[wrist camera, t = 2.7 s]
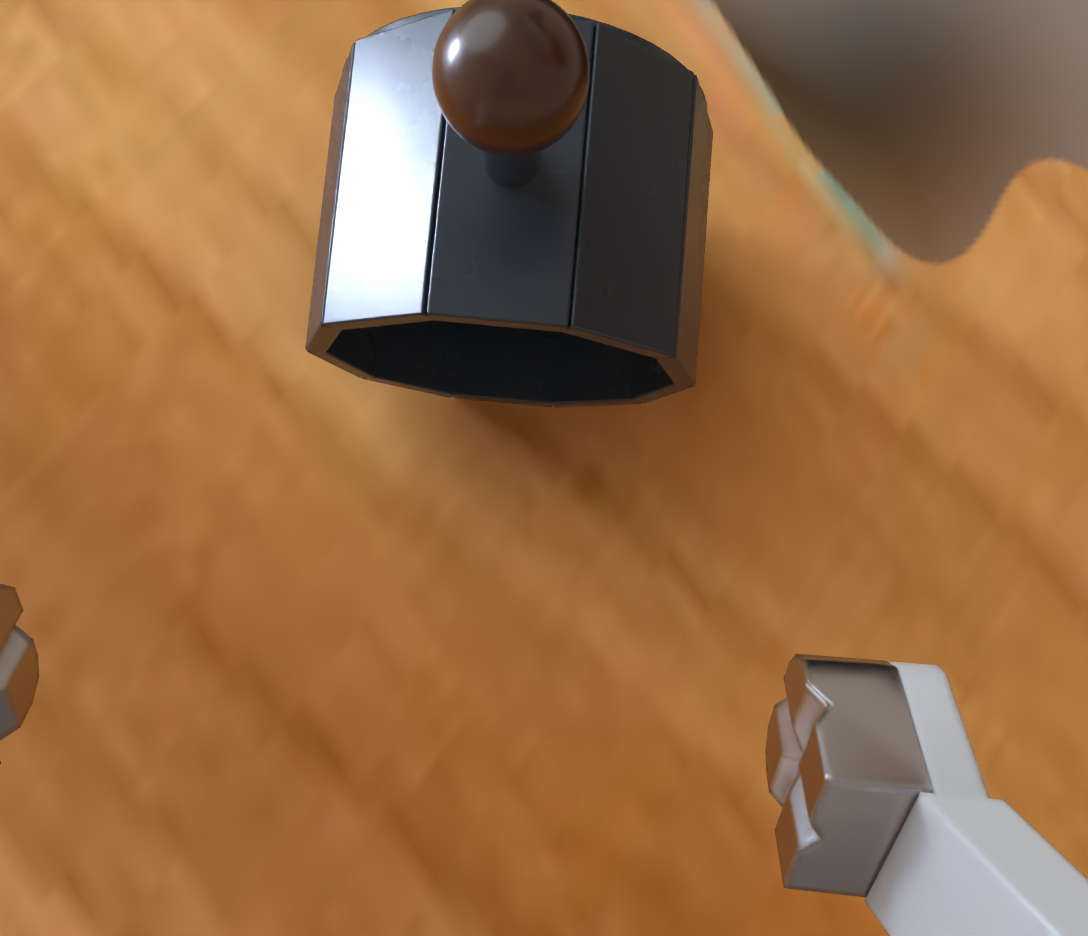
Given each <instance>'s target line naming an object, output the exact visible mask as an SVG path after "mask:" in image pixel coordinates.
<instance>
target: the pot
mask: <svg viewBox="0 0 1088 936" xmlns="http://www.w3.org/2000/svg"><path fill="white" fill-rule="evenodd" d="M712 139H713V130H712V127H711V123H710V120H709V116H708V113H707V102H706V99H705V96H704V93H703V90H702V89H701V87H700V85H699V82H698V79H697V76H696V75H694V73H693V72H692V71H690V70H688V69H687V68H686V67H685V66H684V65H682V64H681V63H680V62H679V61H678V60H676V59H675V58H674V57H673V56H671V55H670V54H669V53H667V52H665V51H664V50H662V49H661V48H659V47H657V46H656V45H654V44H653V43H651V42H649V41H647V40H645V39H642V38H640V37H638V36H636V35H634V34H632V33H630V32H627V31H625V30H622V29H619V28H617V27H614V26H611V25H609V24H606V23H602V22H599V21H595V20H592V19H588V18H585V17H581V16H576V15H571V14H567V13H566V12H565V11H564V10H563V9H562V8H561V7H560V6H558V5H557V4H556V3H554V2H553V1H552V0H469V1H467V2H466V3H465V4H463V5H462V6H461V7H457V8H447V9H440V10H435V11H430V12H424V13H420V14H416V15H413V16H409V17H406V18H403V19H399V20H397V21H395V22H392V23H390V24H388V25H385V26H383V27H381V28H379V29H378V30H376V31H374V32H373V33H371V34H369V35H368V36H366V37H365V38H362V39H358V40H356V42H355V43H353V45H352V47H351V50H350V53H349V56H348V57H347V59H346V62H345V65H344V68H343V72H342V77H341V80H340V83H339V86H338V89H337V92H336V94H335V99H334V108H333V117H332V125H331V134H330V142H329V151H328V159H327V168H326V176H325V185H324V193H323V202H322V211H321V219H320V228H319V236H318V245H317V253H316V262H315V270H314V279H313V287H312V296H311V305H310V313H309V322H308V330H307V339H306V347H305V348H306V350H307V352H309V353H311V354H313V355H315V356H317V357H319V358H321V359H323V360H325V361H327V362H329V363H331V364H333V365H335V366H337V367H339V368H341V369H343V370H345V371H347V372H349V373H351V374H353V375H355V376H357V377H359V378H362V379H366V380H370V381H375V382H380V383H384V384H389V385H394V386H398V387H403V388H408V389H412V390H417V391H421V392H426V393H431V394H435V395H440V396H445V397H449V398H451V397H454V398H457V399H469V400H480V401H491V402H502V403H513V404H524V405H535V406H546V407H552V406H555V407H572V406H598V405H624V404H641V403H647V402H650V401H653V400H655V399H658V398H661V397H664V396H667V395H670V394H673V393H676V392H679V391H682V390H685V389H688V388H690V387H693V386H694V385H695V381H696V367H697V353H698V338H699V324H700V310H701V295H702V281H703V267H704V253H705V238H706V224H707V210H708V196H709V181H710V167H711V153H712Z"/></svg>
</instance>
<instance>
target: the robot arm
mask: <svg viewBox="0 0 1088 936" xmlns="http://www.w3.org/2000/svg"><path fill="white" fill-rule="evenodd" d="M22 612H23V607H22V604H21V602H20V599H19V597H18V594H17V591H16V589H15V588H14V587H11V586H7V585H4V584H0V740H2V739H3V738H5V737H6V736H8V735H9V734H11V733H12V732H14V731H15V730H17V729H18V728H20V727H21V725H22V723H23V721H24V719H25V717H26V715H27V713H28V711H29V709H30V707H31V706H32V703H33V699H34V695H35V691H36V687H37V683H38V678H39V665H38V654H37V651H36V647H35V644H34V641H33V639H32V638H30V637H29V636H28V635H27V634H26V633H24V632H23V631H22V630H21V629H20V628H18V627H17V626H16V625H15V624H16V622H17V621H18V619H19V617H20V615H21V614H22ZM784 682H785V688H786V694H787V697H786V698H785V699H783V700H782V701H780V702H779V703H777V704H775V705H774V708H773V712H772V715H771V719H770V722H769V725H768V733H767V742H766V772H767V780H768V787H769V793H770V794H771V795H772V796H773V797H774V798H775V799H776V801H777V802H778V803H779V804H780V805H781V806H782V807H783V808H782V811H781V814H780V817H779V819H778V822H777V825H776V828H775V835H776V841H777V848H778V854H779V861H780V867H781V873H782V880H783V886H784V888H788V889H797V890H806V891H815V892H824V893H832V894H841V895H850V896H859V897H866V899H865V902H866V904H867V905H868V907H869V908H870V909H871V911H872V912H873V914H874V915H875V916H876V918H877V919H878V920H879V922H880V923H881V925H882V926H883V927H884V929H885V930H886V932H887V933H888V934H889V936H1088V880H1087V879H1086V878H1085V877H1084V876H1083V875H1082V874H1081V873H1080V872H1079V871H1078V870H1077V869H1076V868H1075V867H1074V866H1073V865H1072V864H1071V863H1070V862H1068V861H1067V860H1066V859H1065V858H1064V857H1063V856H1062V855H1061V854H1060V853H1059V852H1058V851H1057V850H1056V849H1055V848H1054V847H1053V846H1052V845H1051V844H1050V843H1049V842H1048V841H1046V840H1045V839H1044V838H1043V837H1042V836H1041V835H1040V834H1039V833H1038V832H1037V831H1036V830H1035V829H1034V828H1033V827H1032V826H1031V825H1030V824H1029V823H1028V822H1027V821H1025V820H1024V819H1023V818H1022V817H1021V816H1020V815H1019V814H1018V813H1017V812H1016V811H1015V810H1014V809H1013V808H1012V807H1011V806H1010V805H1009V804H1008V803H1007V802H1006V801H1005V800H999V799H991V798H989V795H988V792H987V790H986V787H985V784H984V781H983V778H982V775H981V772H980V769H979V767H978V764H977V761H976V758H975V755H974V752H973V749H972V746H971V744H970V741H969V738H968V735H967V732H966V729H965V726H964V724H963V721H962V718H961V715H960V712H959V709H958V706H957V703H956V701H955V698H954V695H953V692H952V689H951V686H950V683H949V680H948V678H947V675H946V673H945V672H944V671H943V670H942V669H941V667H940V666H938V665H926V664H914V663H902V662H889V663H888V662H887V661H882V660H869V659H856V658H843V657H831V656H818V655H805V654H795V655H794V656H793V658H792V659H791V660H790V661H789V664H788V667H787V670H786V673H785V675H784ZM0 764H1V762H0Z"/></svg>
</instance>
